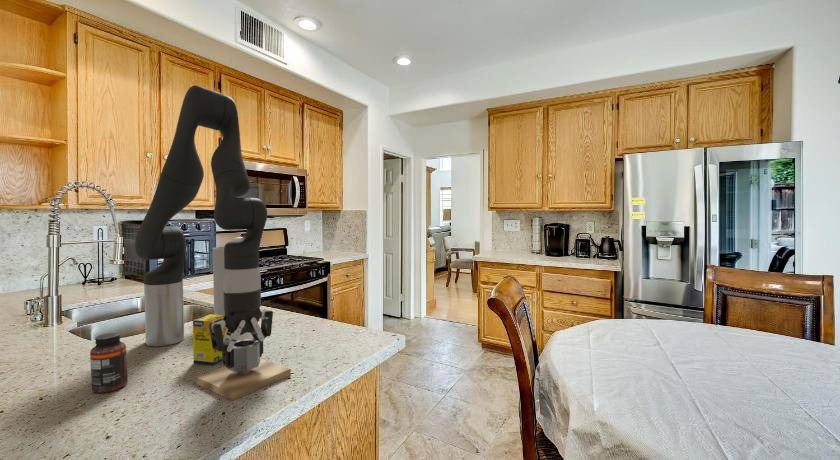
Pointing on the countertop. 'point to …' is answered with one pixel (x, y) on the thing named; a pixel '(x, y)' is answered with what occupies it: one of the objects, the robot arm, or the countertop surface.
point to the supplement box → (205, 340)
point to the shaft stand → (242, 379)
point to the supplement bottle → (108, 363)
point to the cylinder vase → (218, 280)
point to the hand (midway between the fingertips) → (243, 361)
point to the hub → (245, 355)
